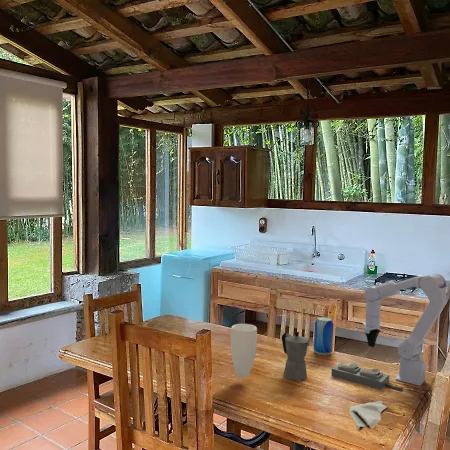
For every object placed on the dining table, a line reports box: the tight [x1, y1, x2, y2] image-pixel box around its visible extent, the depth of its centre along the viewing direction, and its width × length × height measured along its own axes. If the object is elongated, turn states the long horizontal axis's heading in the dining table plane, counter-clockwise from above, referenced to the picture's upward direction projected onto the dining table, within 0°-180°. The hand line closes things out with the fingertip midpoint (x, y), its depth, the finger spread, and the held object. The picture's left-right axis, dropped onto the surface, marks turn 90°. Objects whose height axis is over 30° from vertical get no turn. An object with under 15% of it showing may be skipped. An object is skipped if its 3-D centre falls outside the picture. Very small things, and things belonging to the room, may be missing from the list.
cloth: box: [348, 400, 388, 431], centre depth 155 cm, size 26×14×2 cm, turn 134°
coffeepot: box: [281, 331, 310, 381], centre depth 186 cm, size 15×9×18 cm, turn 33°
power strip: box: [331, 362, 404, 392], centre depth 182 cm, size 26×9×4 cm, turn 53°
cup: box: [230, 323, 258, 378], centre depth 176 cm, size 10×10×22 cm
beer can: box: [313, 316, 334, 356], centre depth 214 cm, size 8×8×16 cm
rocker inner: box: [362, 368, 381, 374], centre depth 181 cm, size 6×4×1 cm, turn 53°
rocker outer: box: [341, 362, 359, 368], centre depth 187 cm, size 6×4×1 cm, turn 53°
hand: (371, 346), depth 197 cm, fingers closed
